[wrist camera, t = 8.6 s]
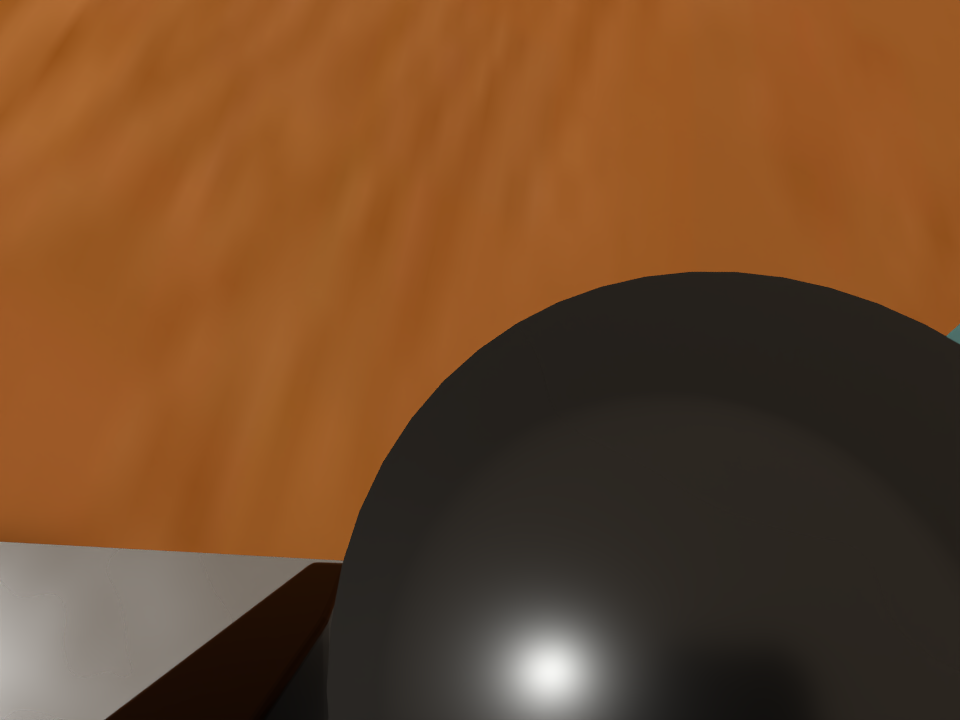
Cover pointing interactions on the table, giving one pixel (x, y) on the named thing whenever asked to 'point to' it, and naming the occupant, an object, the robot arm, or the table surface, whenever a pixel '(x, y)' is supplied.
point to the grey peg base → (596, 531)
